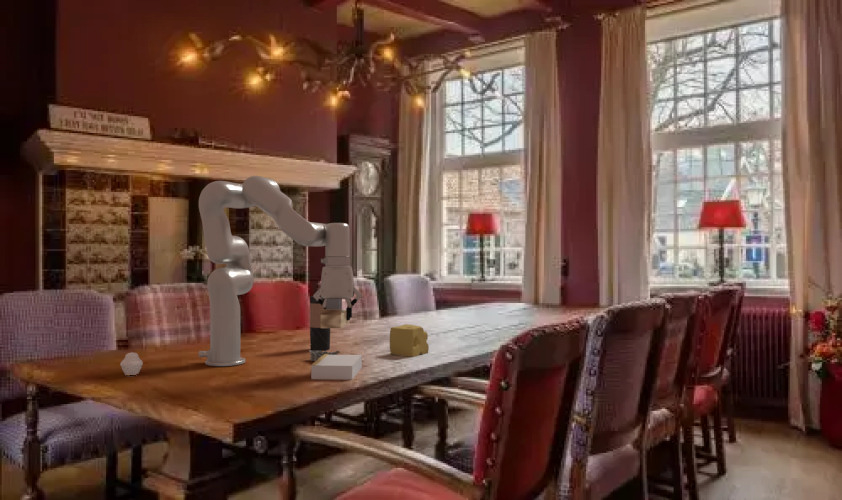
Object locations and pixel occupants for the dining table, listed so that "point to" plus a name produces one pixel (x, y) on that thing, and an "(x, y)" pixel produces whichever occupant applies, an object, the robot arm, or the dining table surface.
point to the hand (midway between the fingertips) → (337, 319)
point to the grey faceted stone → (131, 364)
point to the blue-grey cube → (334, 304)
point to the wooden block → (333, 318)
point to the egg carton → (320, 354)
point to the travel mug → (318, 327)
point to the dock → (336, 367)
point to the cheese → (408, 340)
